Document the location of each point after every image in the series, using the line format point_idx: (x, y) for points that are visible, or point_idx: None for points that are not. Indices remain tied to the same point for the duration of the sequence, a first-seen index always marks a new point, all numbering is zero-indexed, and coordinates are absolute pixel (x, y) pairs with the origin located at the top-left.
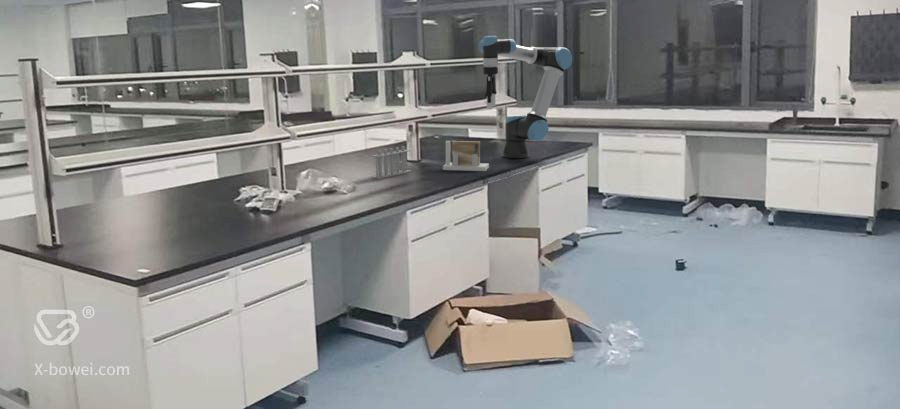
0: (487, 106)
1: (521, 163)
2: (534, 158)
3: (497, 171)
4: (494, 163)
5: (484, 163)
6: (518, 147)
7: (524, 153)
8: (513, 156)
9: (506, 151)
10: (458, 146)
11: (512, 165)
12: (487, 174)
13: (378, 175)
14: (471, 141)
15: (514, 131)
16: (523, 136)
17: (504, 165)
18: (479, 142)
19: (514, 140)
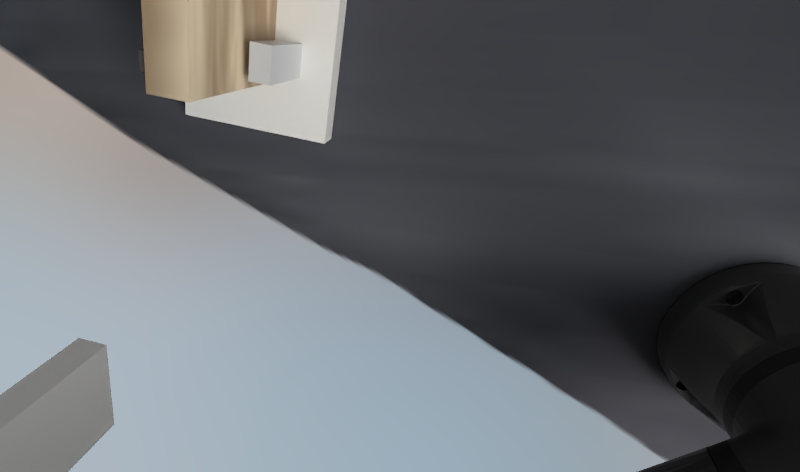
0: (32, 383)
1: (468, 326)
2: (637, 412)
3: (202, 176)
4: (478, 185)
5: (323, 115)
6: (698, 385)
7: (676, 389)
8: (668, 321)
9: (747, 302)
10: None
11: (401, 274)
12: (101, 114)
13: None
14: (176, 14)
15: (756, 454)
16: (652, 468)
17: (401, 233)
18: (158, 95)
19: (740, 398)
